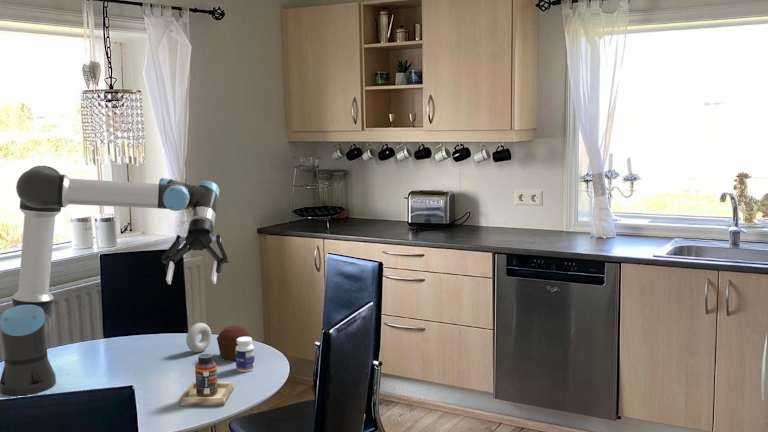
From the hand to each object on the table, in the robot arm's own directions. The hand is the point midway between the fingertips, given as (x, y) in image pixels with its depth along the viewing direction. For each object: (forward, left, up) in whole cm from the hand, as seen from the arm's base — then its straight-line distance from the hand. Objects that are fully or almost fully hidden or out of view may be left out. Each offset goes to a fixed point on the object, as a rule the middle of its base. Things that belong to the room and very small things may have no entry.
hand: (190, 281), depth 226 cm
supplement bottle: (+8, -17, -29) cm, 34 cm away
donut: (-5, +23, -30) cm, 38 cm away
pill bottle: (+14, +6, -30) cm, 34 cm away
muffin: (+8, +18, -30) cm, 36 cm away
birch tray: (+8, -17, -30) cm, 35 cm away
